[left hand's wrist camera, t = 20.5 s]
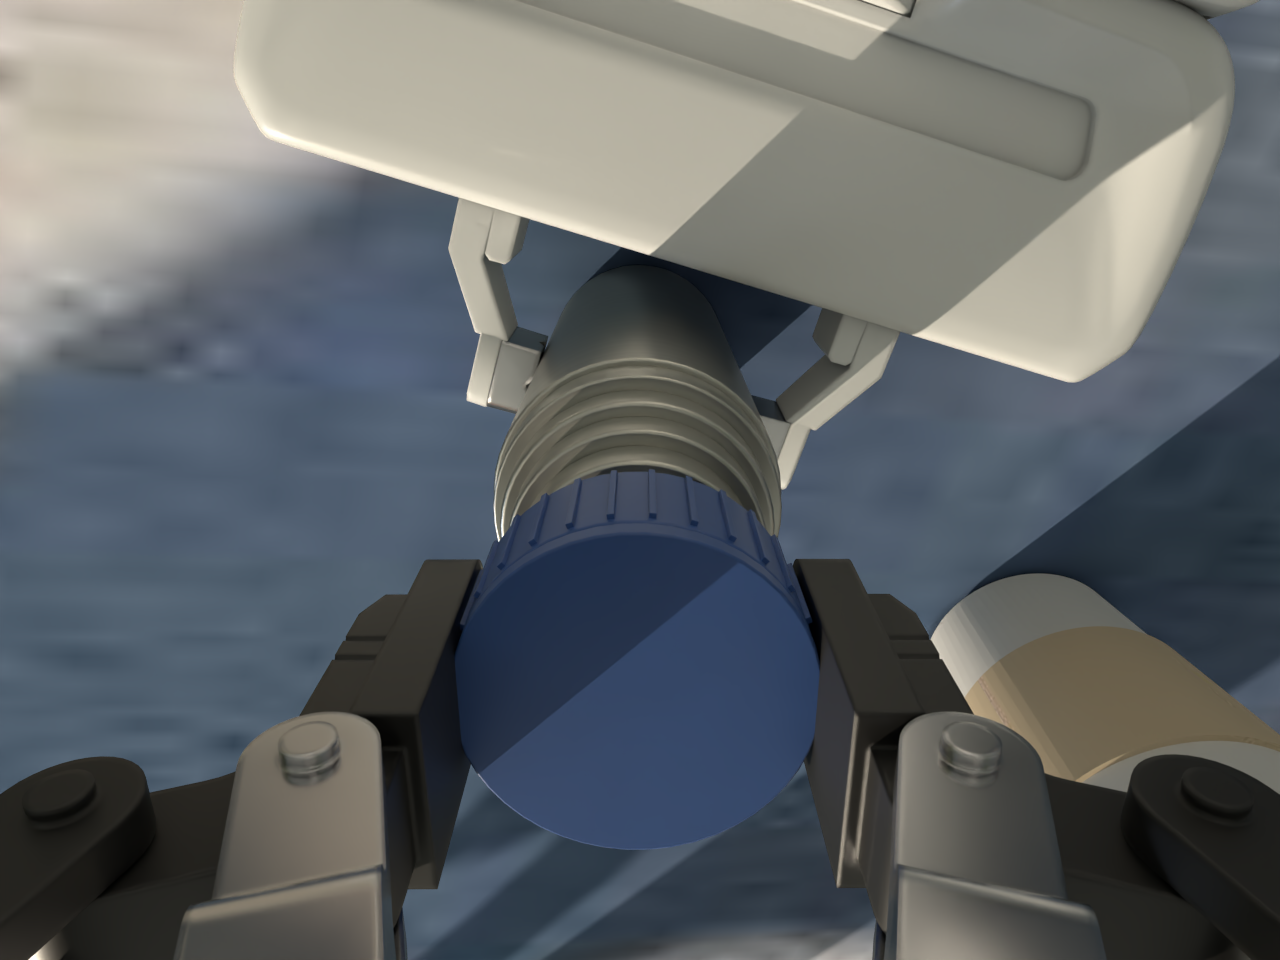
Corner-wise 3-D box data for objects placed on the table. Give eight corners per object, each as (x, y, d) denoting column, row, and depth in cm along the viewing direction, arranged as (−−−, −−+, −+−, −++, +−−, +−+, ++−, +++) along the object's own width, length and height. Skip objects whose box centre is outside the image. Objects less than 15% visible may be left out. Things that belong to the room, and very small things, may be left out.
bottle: (599, 233, 27) (527, 397, 10) (752, 312, 27) (937, 592, 10) (527, 387, 28) (357, 756, 11) (674, 457, 29) (723, 899, 12)
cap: (497, 762, 13) (473, 864, 11) (450, 478, 12) (414, 543, 10) (801, 743, 13) (829, 843, 11) (797, 453, 11) (828, 513, 10)
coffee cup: (1170, 713, 33) (1564, 1147, 19) (933, 788, 34) (1136, 1247, 20) (1121, 505, 30) (1547, 841, 16) (862, 597, 31) (1043, 983, 17)
